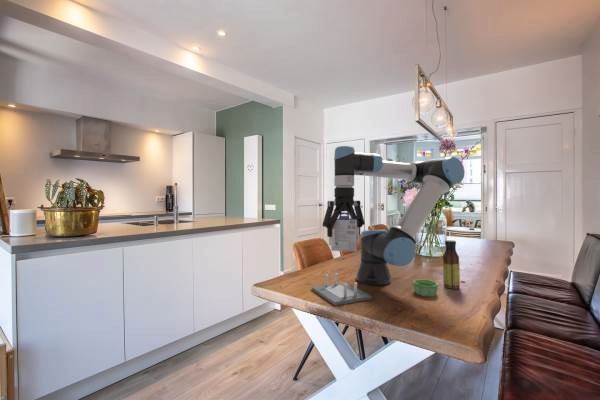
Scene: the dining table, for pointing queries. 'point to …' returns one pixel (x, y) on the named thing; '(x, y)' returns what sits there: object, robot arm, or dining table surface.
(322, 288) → the pin tray
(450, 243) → the sauce bottle
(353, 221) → the ink cartridge box
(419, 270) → the dining table surface
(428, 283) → the ramekin
